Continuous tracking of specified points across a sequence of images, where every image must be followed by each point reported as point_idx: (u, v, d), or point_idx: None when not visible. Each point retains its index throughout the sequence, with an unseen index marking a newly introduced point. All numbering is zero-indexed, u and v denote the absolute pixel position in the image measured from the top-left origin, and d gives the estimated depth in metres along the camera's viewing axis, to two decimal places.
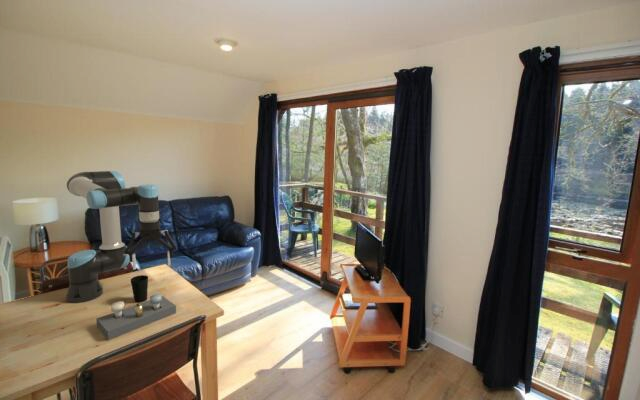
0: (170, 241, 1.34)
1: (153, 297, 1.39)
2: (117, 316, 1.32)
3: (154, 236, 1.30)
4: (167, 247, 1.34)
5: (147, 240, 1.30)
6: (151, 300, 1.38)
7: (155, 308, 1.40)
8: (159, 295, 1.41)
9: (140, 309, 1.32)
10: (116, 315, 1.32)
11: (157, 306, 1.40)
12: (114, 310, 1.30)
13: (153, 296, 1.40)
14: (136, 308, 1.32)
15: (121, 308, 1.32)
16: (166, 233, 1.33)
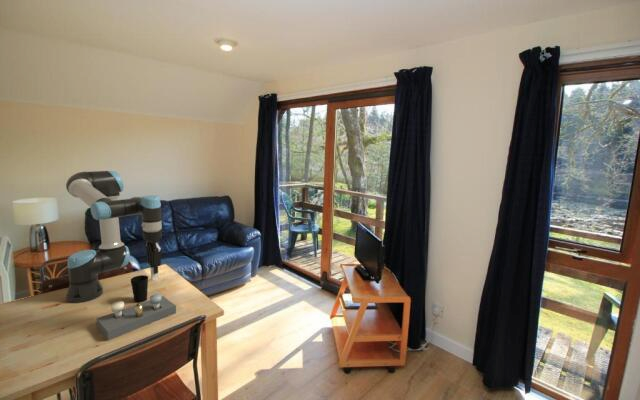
0: (155, 258, 1.33)
1: (153, 297, 1.39)
2: (117, 316, 1.32)
3: (150, 246, 1.34)
4: (152, 262, 1.35)
5: None
6: (151, 300, 1.38)
7: (155, 308, 1.40)
8: (159, 295, 1.41)
9: (140, 309, 1.32)
10: (116, 315, 1.32)
11: (157, 306, 1.40)
12: (114, 310, 1.30)
13: (153, 296, 1.40)
14: (136, 308, 1.32)
15: (121, 308, 1.32)
16: (155, 250, 1.32)
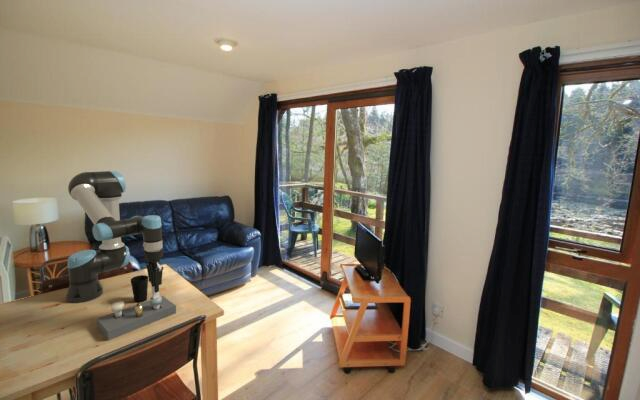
0: (156, 277, 1.35)
1: (153, 299, 1.39)
2: (117, 316, 1.32)
3: (151, 266, 1.35)
4: (153, 281, 1.37)
5: None
6: (151, 302, 1.38)
7: None
8: None
9: (140, 309, 1.32)
10: (116, 315, 1.32)
11: (157, 308, 1.40)
12: (114, 310, 1.30)
13: None
14: (136, 308, 1.32)
15: (121, 308, 1.32)
16: (156, 270, 1.33)
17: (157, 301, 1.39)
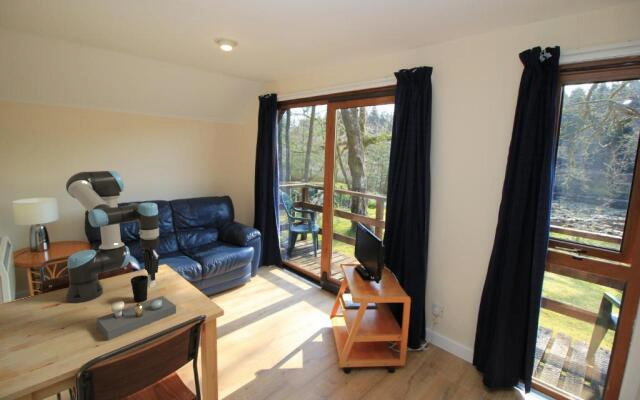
0: (152, 265, 1.33)
1: (153, 303, 1.40)
2: (117, 316, 1.32)
3: (147, 253, 1.34)
4: (149, 269, 1.35)
5: None
6: (151, 306, 1.39)
7: None
8: (159, 301, 1.42)
9: (140, 309, 1.32)
10: (116, 315, 1.32)
11: None
12: (114, 310, 1.30)
13: (153, 302, 1.41)
14: (136, 308, 1.32)
15: (121, 308, 1.32)
16: (153, 258, 1.32)
17: (157, 305, 1.39)
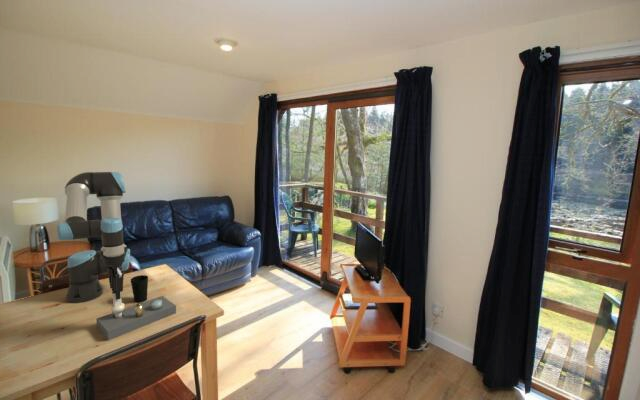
0: (116, 284, 1.27)
1: (153, 303, 1.40)
2: (117, 317, 1.32)
3: (111, 271, 1.27)
4: (114, 287, 1.29)
5: None
6: (151, 306, 1.39)
7: None
8: (159, 301, 1.42)
9: (140, 309, 1.32)
10: (116, 316, 1.32)
11: None
12: (114, 311, 1.30)
13: (153, 302, 1.41)
14: (136, 308, 1.32)
15: (121, 309, 1.32)
16: (116, 276, 1.25)
17: (157, 305, 1.39)
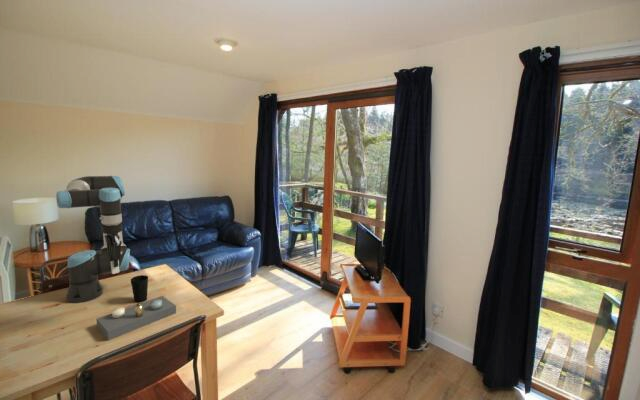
0: (114, 251, 1.31)
1: (153, 303, 1.40)
2: None
3: (109, 239, 1.31)
4: (112, 255, 1.33)
5: None
6: (151, 306, 1.39)
7: None
8: (159, 301, 1.42)
9: (140, 309, 1.32)
10: None
11: None
12: (114, 316, 1.31)
13: (153, 302, 1.41)
14: (136, 308, 1.32)
15: (121, 314, 1.32)
16: (114, 244, 1.30)
17: (157, 305, 1.39)
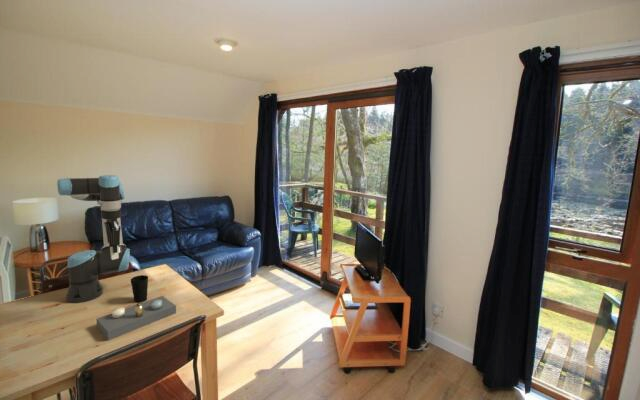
0: (113, 237, 1.35)
1: (153, 303, 1.40)
2: None
3: (108, 225, 1.35)
4: (111, 241, 1.37)
5: None
6: (151, 306, 1.39)
7: None
8: (159, 301, 1.42)
9: (140, 309, 1.32)
10: None
11: None
12: (114, 316, 1.31)
13: (153, 302, 1.41)
14: (136, 308, 1.32)
15: (121, 314, 1.32)
16: (113, 229, 1.33)
17: (157, 305, 1.39)
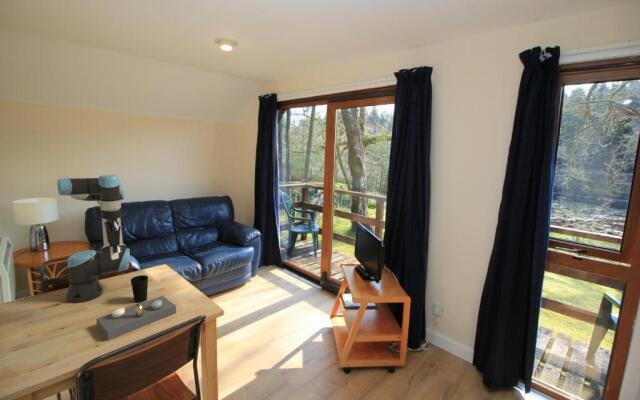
0: (113, 237, 1.35)
1: (153, 303, 1.40)
2: None
3: (108, 225, 1.35)
4: (111, 241, 1.37)
5: None
6: (151, 306, 1.39)
7: None
8: (159, 301, 1.42)
9: (140, 309, 1.32)
10: None
11: None
12: (114, 316, 1.31)
13: (153, 302, 1.41)
14: (136, 308, 1.32)
15: (121, 314, 1.32)
16: (113, 229, 1.33)
17: (157, 305, 1.39)
